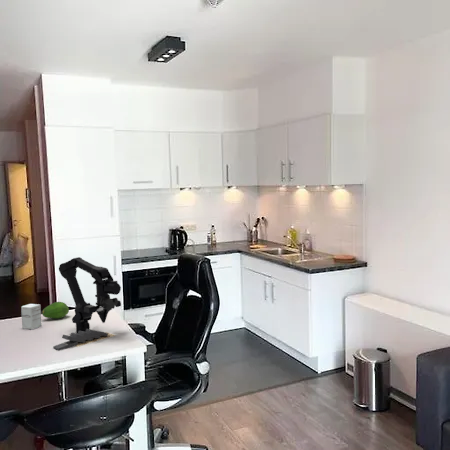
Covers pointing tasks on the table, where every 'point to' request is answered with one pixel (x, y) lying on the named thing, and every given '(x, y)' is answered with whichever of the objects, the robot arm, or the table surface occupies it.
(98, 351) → the table surface
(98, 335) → the domino
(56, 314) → the fruit
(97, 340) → the board
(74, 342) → the domino
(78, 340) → the domino
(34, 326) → the supplement box
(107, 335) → the domino
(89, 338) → the domino
